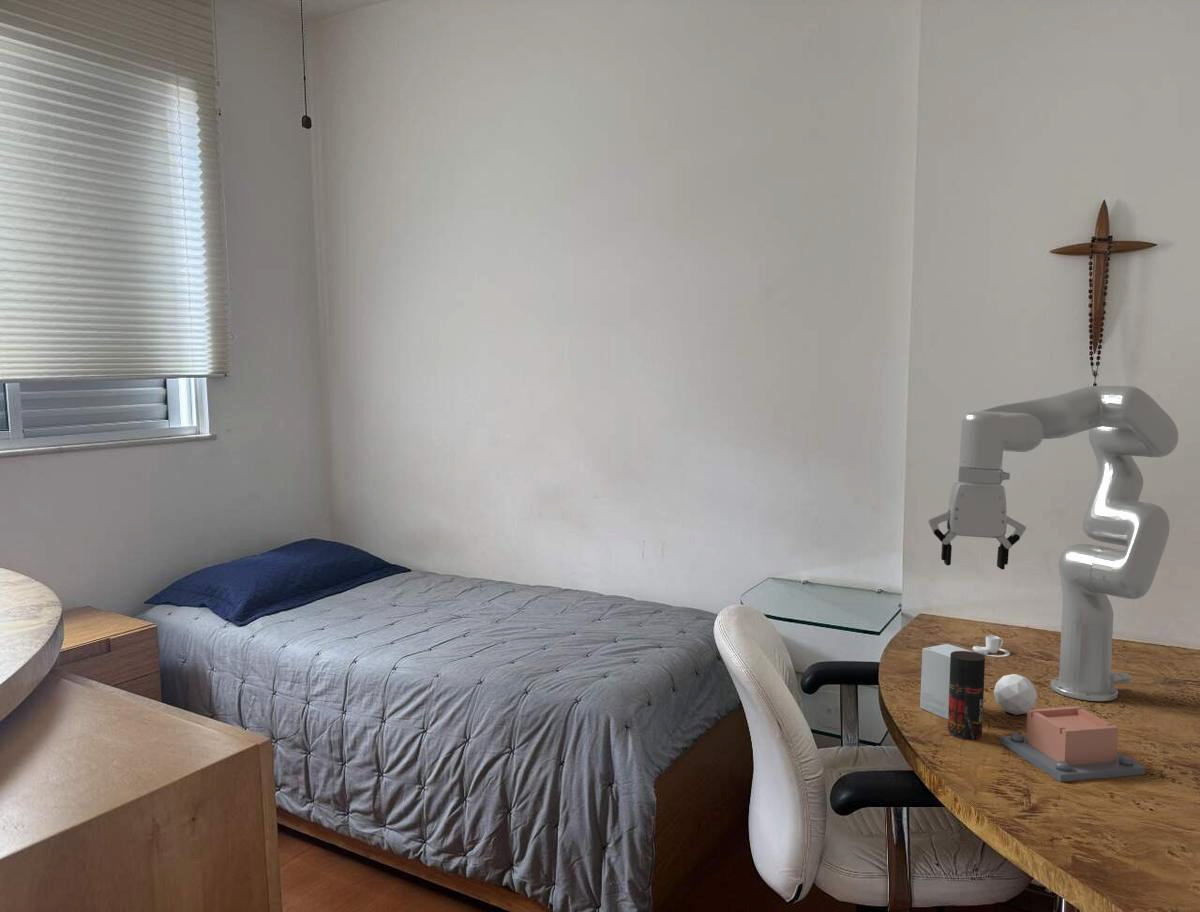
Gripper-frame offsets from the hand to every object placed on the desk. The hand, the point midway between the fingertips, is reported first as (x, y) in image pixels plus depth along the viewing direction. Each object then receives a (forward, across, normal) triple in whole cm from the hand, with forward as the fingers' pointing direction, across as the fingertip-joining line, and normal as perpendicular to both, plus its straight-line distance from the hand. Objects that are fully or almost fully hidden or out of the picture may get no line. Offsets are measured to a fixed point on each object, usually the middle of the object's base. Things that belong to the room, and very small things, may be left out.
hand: (973, 566), depth 170 cm
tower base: (+31, -15, +13) cm, 37 cm away
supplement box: (+31, +2, -6) cm, 31 cm away
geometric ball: (+30, -11, -8) cm, 33 cm away
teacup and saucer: (+30, -13, -51) cm, 60 cm away
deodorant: (+31, +1, +6) cm, 32 cm away
